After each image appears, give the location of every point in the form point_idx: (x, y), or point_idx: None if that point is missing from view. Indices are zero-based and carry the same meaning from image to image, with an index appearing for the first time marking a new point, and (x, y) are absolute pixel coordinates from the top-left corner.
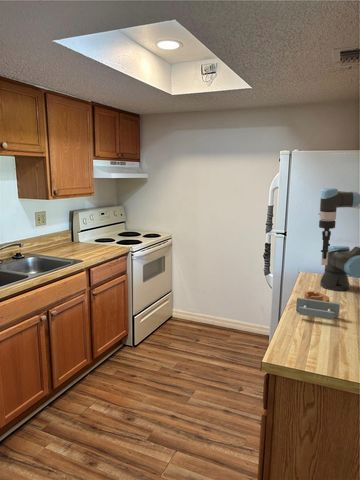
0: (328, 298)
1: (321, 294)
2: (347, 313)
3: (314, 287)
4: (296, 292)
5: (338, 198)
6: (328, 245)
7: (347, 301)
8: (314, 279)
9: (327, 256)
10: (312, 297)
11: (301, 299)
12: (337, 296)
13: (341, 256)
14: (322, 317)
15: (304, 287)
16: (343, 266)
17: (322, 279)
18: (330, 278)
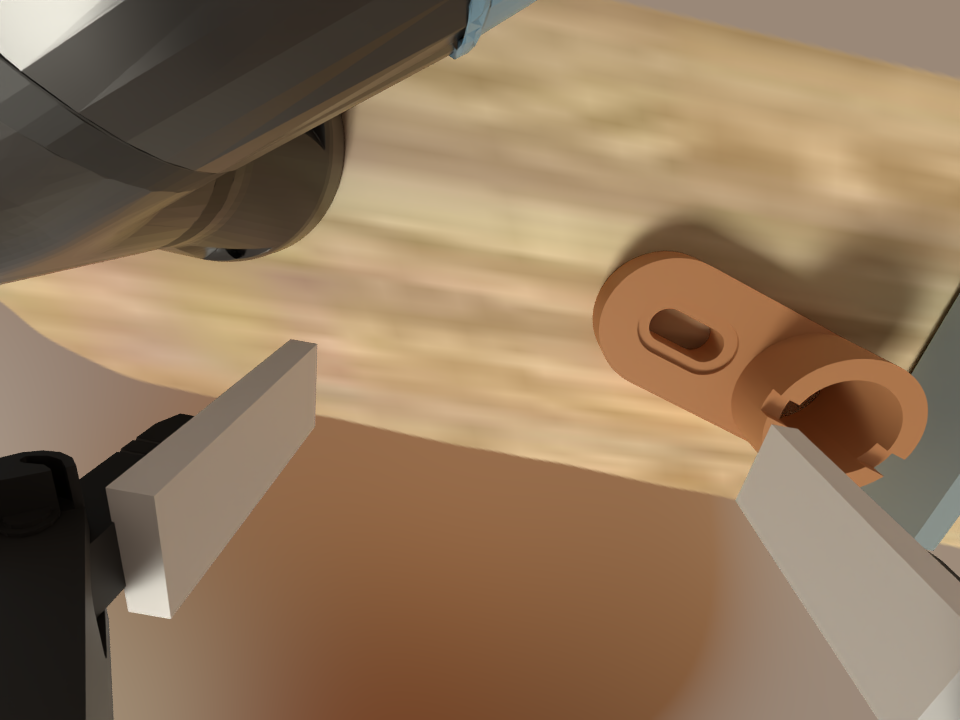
0: (699, 268)
1: (854, 371)
2: (908, 142)
3: (318, 308)
4: (479, 443)
5: None
6: (73, 508)
7: (615, 81)
8: (96, 280)
9: (917, 552)
10: (910, 444)
11: (950, 522)
12: (498, 151)
13: (193, 52)
14: None
15: (345, 380)
16: (426, 59)
17: (209, 249)
18: (269, 194)
